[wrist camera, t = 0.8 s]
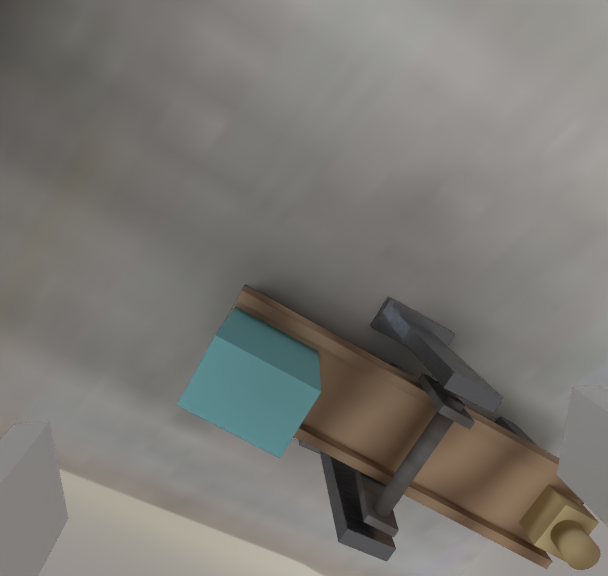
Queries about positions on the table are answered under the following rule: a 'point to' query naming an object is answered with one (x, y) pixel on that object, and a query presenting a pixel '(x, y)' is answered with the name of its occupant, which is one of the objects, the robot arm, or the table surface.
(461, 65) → the table surface
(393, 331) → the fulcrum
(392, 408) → the beam
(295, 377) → the block
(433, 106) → the table surface
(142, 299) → the table surface
